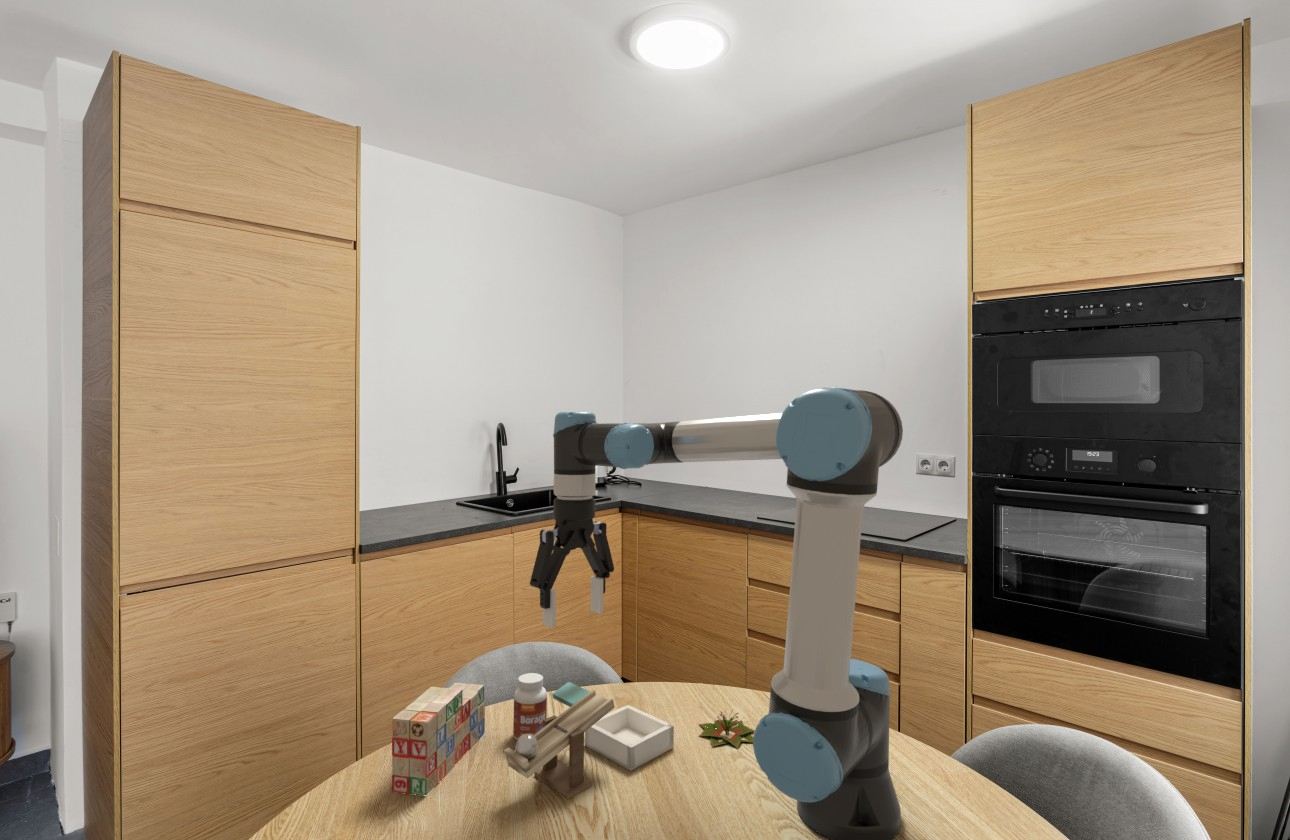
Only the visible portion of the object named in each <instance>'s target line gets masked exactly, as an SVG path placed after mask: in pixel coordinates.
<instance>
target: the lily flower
mask: <svg viewBox="0 0 1290 840" xmlns="http://www.w3.org/2000/svg"><path fill="white" fill-rule="evenodd" d="M733 710H734V709H731V712H733ZM724 711H725V713H727V711H726V710H724ZM719 712H720V713H719V716H721V717H722V719H721V718H720V717H719V716H717V719H716V720H714V721H713V722H714V723H711V722H710V723H709V722H708V723H706V722H705V723H698V725H699V726H701V727H702V728H703V729H704V730H703V731H702V732H701V733H700V734H699V735H698V737H710V743H711V748H712V747H713V748H714V747H716V746H720V745H725V744H728V743H731V745H732V746H734V747H736V748H737V750H739V747H740V744H741V743H745V742H746V743H753V736H752V735H750V734H749V733H753V732H755V729H752V728H750V727H748V726H747V725H744V723H743V720H738V719H737V718H739V716H737V715H739V713H740V712H736V713H735V714H734V715H733V716H731V714H732V713H730V714H729V718H728V719H727V716H726V714H724V713H723V712H722V711H719ZM734 719H735V720H734ZM737 724H738V725H737ZM735 725H736V726H735ZM705 726H706V727H705ZM707 727H708V728H707ZM715 728H717V729H715ZM723 732H725V735H729V734H730V732H731V733H733V735H732V736H731V737H728V736H724V735H721V734H722V733H723ZM719 738H721V739H723V740H722V741H720V740H719ZM743 738H744V739H743Z"/></svg>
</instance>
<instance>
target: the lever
mask: <svg viewBox="0 0 1290 840" xmlns="http://www.w3.org/2000/svg"><path fill="white" fill-rule="evenodd" d="M551 694H552V695H551V696H552V698H553V699H554V700H555V701H557V702H559V703H561V704H562V705H565V706H568V707H569V708H567V709H566V710H564V711H563V712H562V713H561V714H559V715H558V716H557V718H555V719H554V720H553V721H551V722H550V723H549V724H547V725H546V726H545V727H544V728H542V729H541V730H540V731H538V732H537V733H536V734H534V736H535V737H536V738H537V740H538V743H539V747H538V751H537V753H536V754H535V755H534V756H533V757H532V758H530V759H526V758H524V757H523V756H521V755H520V754H518V753H517V752H516V748H515V749H514V750H513V749H511V748H510V747H507V748H506V749H504V750H503V751H504V754H505V759H506V762H507V763H506V764H507V766H508V767H510V769H513V770H514V771H515V772H517V773H519V774H520V775H521V776H523V777H525V779H528V778H530V777H532V776H534V773H535V772H536V771H537V770H539V769H540V768H542V767H543V766H544V765H545V764H546V763H547V762H548V761H550V760H551V759H552V758H553V757H555V756H556V755H557V756H558V755H559V753H561V752H563V750H565V749H566V748H567V747H569V738H570V734H572V733H574V732H576V731H578V730H583V731H584V733H585V731H586V730H588V729H589V728H590V727H591V726H593V725H594V724H595V723H596V722H598V721H599V720H600V719H601V718H602V717H604V716H605V715H606V714H608V713H610V712H612V711H613V710H614V709H615V703H614V699H613V698H612V697H609V699H608V698H605V697H602V696H600V695H599V694H597V692H596V690H595V689H592V690H591V691H590V690H588V689H586V688H584V687H581V686H580V685H577V684H575V683H572V682H570V681H568V682H566V683H565V684H563V685H562V686H560V687H559V688H558V689H557V690H555V691H554V692H553V693H551Z"/></svg>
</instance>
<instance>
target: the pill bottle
mask: <svg viewBox="0 0 1290 840" xmlns="http://www.w3.org/2000/svg"><path fill="white" fill-rule="evenodd" d="M543 685H544V676H543V675H542V674H541V673H540V674H539V673H536V672H534V673H533V672H529V673H528V672H527V673H524V674H521V675H520V676H518V678H517V687H518V688H516V690H515V692H514V694H513V727H512V729H513V730H512V732H513V738H514V740H515V741H517V740H518V739H519V737H520V736H522V735H524V734H532V735H534V734H536V733H537V732H538V731H540V730H541V729H542V728H543V720H544V719H547V718H548V717H547V715H548V713H547V712H548V711H547V709H548V692H547V690H546V688H545V687H544V686H543Z"/></svg>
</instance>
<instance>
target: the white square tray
mask: <svg viewBox="0 0 1290 840" xmlns="http://www.w3.org/2000/svg"><path fill="white" fill-rule="evenodd" d="M674 729H675V726H674V725H673V724H671V723H669V722H667V721H665V720H662V719H660V718H658V717H656V716H653V715H651V714H650V713H646V712H644V711H642V710H641V709H639V708H636V707H633V706H631V705H629V704H627V705H624V706H622V707H619V708H618V709H614V710H612V711H610V712H609V713H607V714H606V715H605V716H604V717H602V718H601V719H600V720H599V721H598V722H596V723H595V724H594V725H593V726H591V727H590V728H589V729H588V730H586V731H585V732H584V747H586V748H589V749H591V750H592V751H594V752H596V753H598V754H599V755H601V756H603V757H605V758H607V759H609V760H611V761H612V762H614V763H616V764H618V765H619V766H621V767H623V768H625V769H627V770H629V771H630V772H632V771H633V770H635V769H637V768H639V767H640V766H642V765H644V764H646V763H649V762H650V761H652V760H653V759H655V758H657V757H659V756H660V755H663V754H664V753H666V752H667V751H670V750H671V749H673V748H674V744H675V743H674V737H675V736H674V735H675V734H674V733H675V731H674Z"/></svg>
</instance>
